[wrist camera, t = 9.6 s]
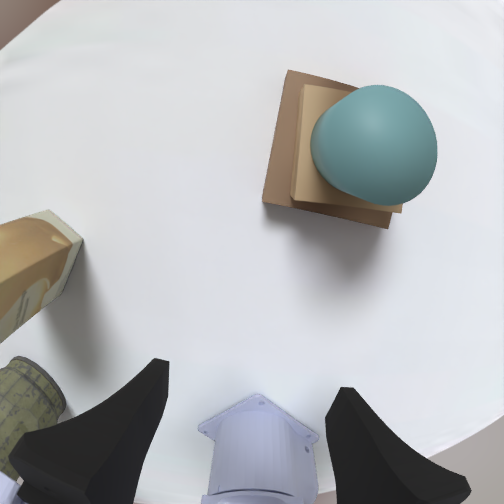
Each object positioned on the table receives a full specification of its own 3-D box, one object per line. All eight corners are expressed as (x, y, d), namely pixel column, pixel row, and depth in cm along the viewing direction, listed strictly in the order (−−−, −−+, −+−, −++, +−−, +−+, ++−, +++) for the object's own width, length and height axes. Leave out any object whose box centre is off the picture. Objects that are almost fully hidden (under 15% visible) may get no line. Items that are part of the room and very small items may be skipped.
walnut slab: (396, 112, 17) (412, 107, 15) (374, 221, 20) (387, 229, 17) (284, 79, 17) (288, 69, 15) (261, 196, 19) (262, 201, 17)
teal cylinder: (412, 157, 14) (454, 160, 10) (350, 212, 15) (378, 230, 11) (358, 85, 13) (389, 64, 9) (290, 139, 14) (301, 131, 10)
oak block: (395, 111, 15) (411, 107, 13) (385, 207, 17) (401, 213, 15) (298, 93, 15) (304, 84, 13) (290, 194, 17) (294, 200, 15)
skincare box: (62, 295, 21) (-30, 378, 10) (28, 265, 21) (-69, 330, 9) (86, 235, 20) (-34, 307, 8) (49, 204, 19) (-74, 250, 7)
